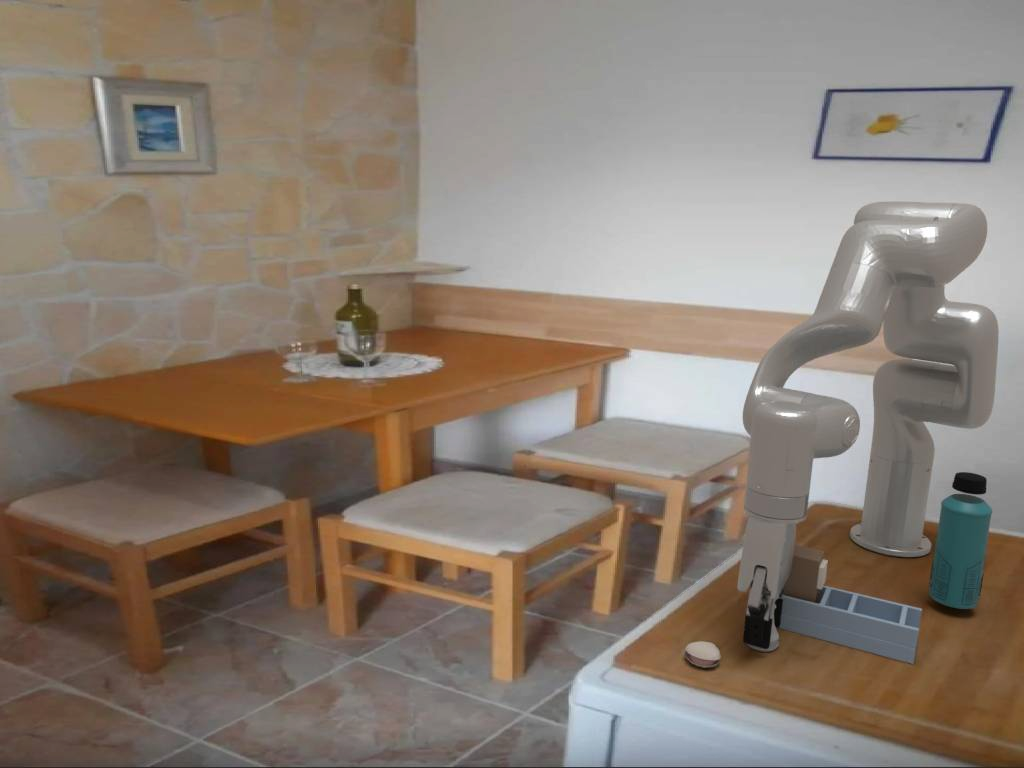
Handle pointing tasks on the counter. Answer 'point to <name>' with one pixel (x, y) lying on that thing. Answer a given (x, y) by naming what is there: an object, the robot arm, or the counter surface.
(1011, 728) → the counter surface
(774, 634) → the rook chess piece
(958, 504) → the beverage bottle
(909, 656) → the blue-grey divided tray
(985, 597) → the counter surface
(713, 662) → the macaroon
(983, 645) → the counter surface
